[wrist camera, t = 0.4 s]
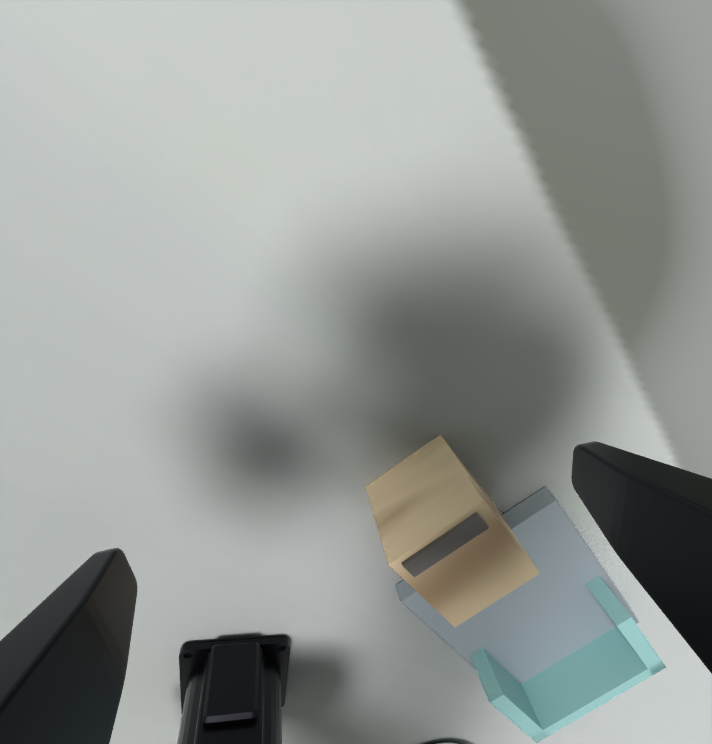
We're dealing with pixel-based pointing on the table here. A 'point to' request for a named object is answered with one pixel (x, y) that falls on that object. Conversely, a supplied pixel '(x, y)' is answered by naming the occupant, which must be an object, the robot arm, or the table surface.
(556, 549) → the dock
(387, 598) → the table surface
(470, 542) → the cardboard box with slot
